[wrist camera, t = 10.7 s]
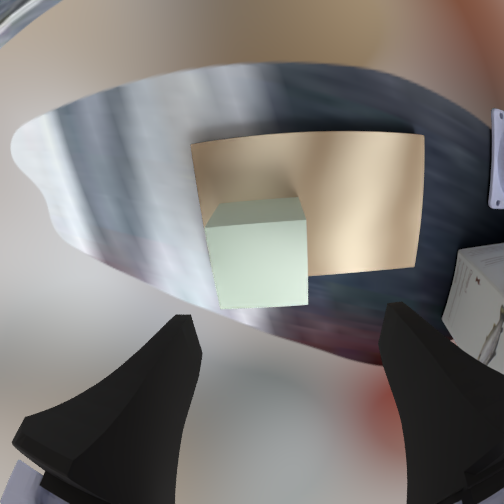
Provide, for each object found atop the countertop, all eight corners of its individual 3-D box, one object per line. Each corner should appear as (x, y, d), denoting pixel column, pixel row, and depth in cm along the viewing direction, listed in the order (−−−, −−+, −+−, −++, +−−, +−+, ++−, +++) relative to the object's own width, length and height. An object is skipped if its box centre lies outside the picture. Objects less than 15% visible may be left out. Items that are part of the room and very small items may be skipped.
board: (415, 133, 14) (424, 135, 13) (407, 258, 18) (414, 266, 17) (195, 143, 16) (190, 144, 15) (217, 272, 20) (214, 281, 19)
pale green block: (298, 196, 16) (306, 219, 12) (301, 267, 18) (307, 304, 14) (219, 203, 16) (204, 227, 13) (230, 271, 18) (220, 309, 15)
